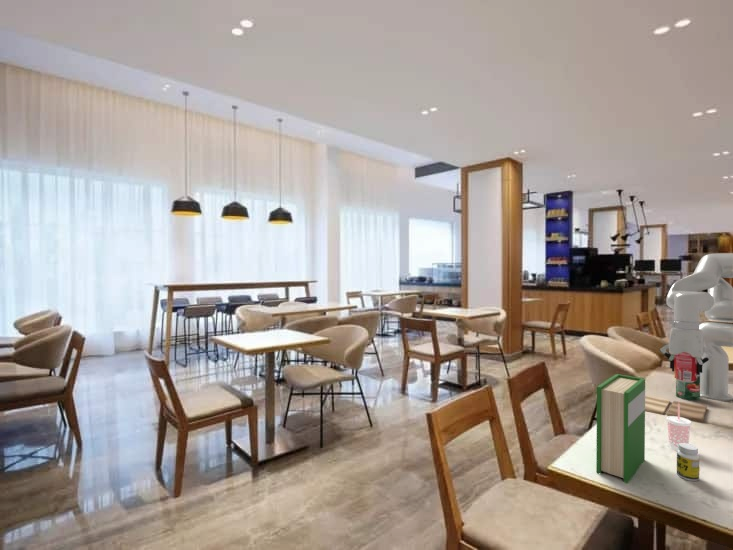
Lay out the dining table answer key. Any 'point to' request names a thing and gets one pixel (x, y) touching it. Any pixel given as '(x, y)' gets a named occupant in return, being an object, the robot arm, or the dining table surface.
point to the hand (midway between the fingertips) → (685, 372)
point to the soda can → (685, 367)
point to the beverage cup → (678, 430)
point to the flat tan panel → (656, 404)
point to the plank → (688, 411)
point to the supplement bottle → (688, 462)
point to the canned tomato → (688, 390)
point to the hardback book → (620, 426)
